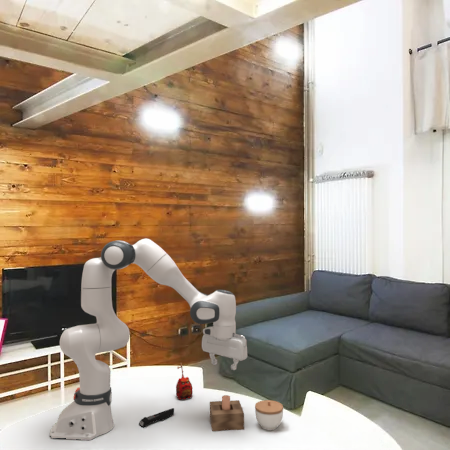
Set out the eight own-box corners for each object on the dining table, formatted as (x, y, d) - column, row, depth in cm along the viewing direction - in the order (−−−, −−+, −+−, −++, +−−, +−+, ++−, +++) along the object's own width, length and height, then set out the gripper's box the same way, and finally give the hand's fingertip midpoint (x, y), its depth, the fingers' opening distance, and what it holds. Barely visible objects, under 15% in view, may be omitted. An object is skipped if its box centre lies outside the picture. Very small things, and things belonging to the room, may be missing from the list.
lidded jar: (251, 421, 153) (251, 397, 153) (276, 418, 156) (276, 394, 156) (260, 434, 143) (260, 408, 143) (287, 431, 146) (287, 405, 146)
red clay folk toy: (179, 402, 171) (180, 367, 172) (172, 396, 177) (173, 363, 178) (195, 398, 175) (195, 364, 176) (187, 393, 181) (187, 360, 182)
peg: (221, 424, 150) (222, 398, 151) (221, 421, 153) (221, 395, 154) (230, 424, 150) (230, 398, 151) (229, 421, 153) (229, 395, 154)
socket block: (212, 431, 145) (212, 414, 145) (209, 416, 157) (209, 401, 157) (243, 429, 147) (244, 413, 147) (239, 415, 158) (239, 400, 159)
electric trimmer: (176, 417, 158) (176, 409, 158) (143, 429, 147) (143, 420, 147) (170, 414, 161) (171, 406, 161) (138, 425, 150) (138, 417, 150)
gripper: (251, 334, 150) (250, 370, 150) (209, 326, 162) (208, 359, 162) (241, 337, 145) (241, 375, 145) (199, 328, 157) (199, 363, 157)
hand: (223, 366), depth 153 cm, fingers open, 8 cm apart
